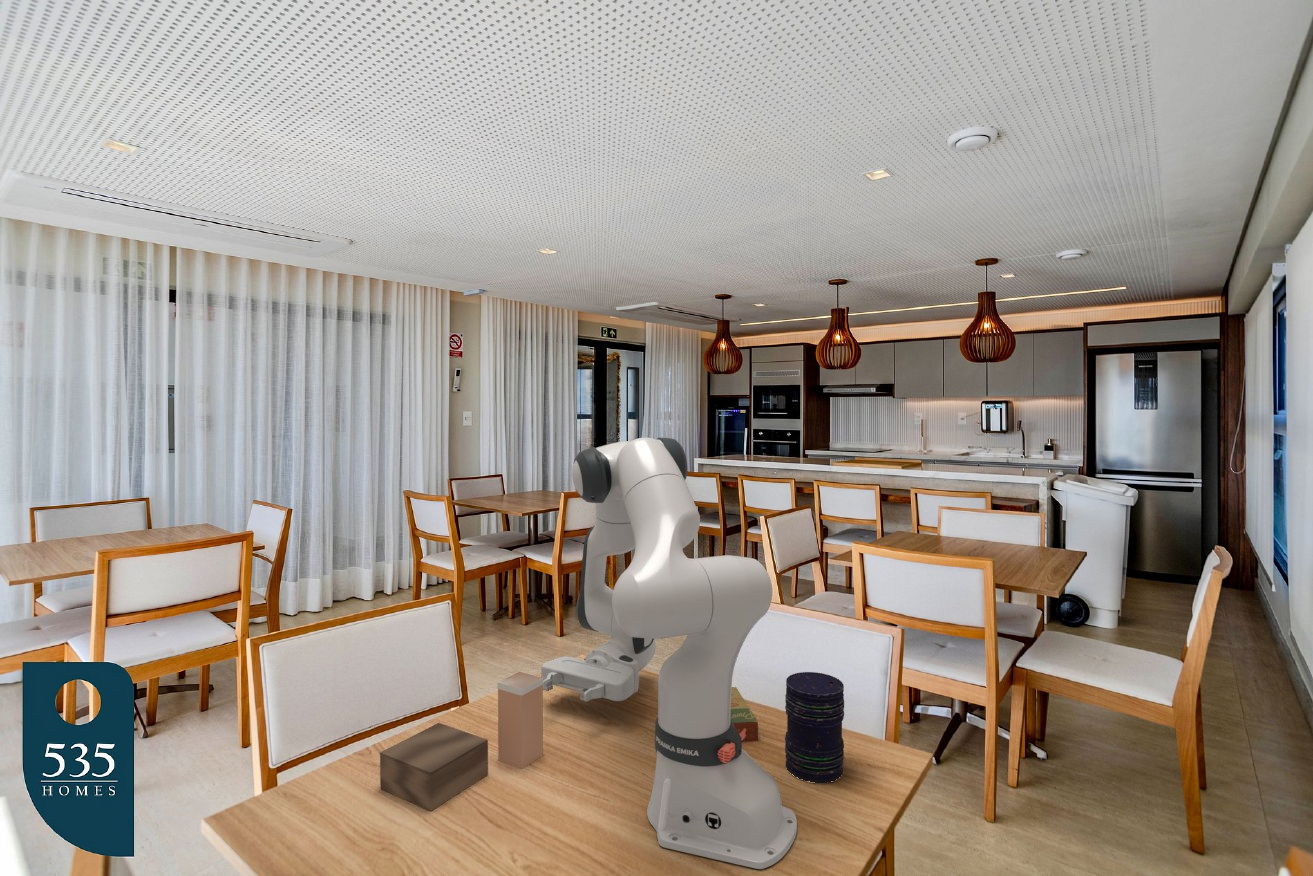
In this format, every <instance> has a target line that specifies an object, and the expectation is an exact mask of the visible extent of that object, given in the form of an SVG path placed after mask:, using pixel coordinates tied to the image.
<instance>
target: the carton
mask: <svg viewBox="0 0 1313 876" xmlns="http://www.w3.org/2000/svg"><path fill="white" fill-rule="evenodd" d="M730 719H731V720H732V722H733V724H734V727H735V729H736V730H737V732H738V733H739V734H740V733H741V732H742V730H743V729H746V732H745V734H746V736H745V738H744V739H743V740H742V741H745V742H756V741H757V742H758V741H759V722H758V720H757V717H755V715H754V714H753V712H752V710H751V708H750V706H748V704H747V702H746V701H745V699H744V697H743V696H742V694H741V692H740V691H739V689H738V687H736V686H732V689H731V718H730Z"/></svg>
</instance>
